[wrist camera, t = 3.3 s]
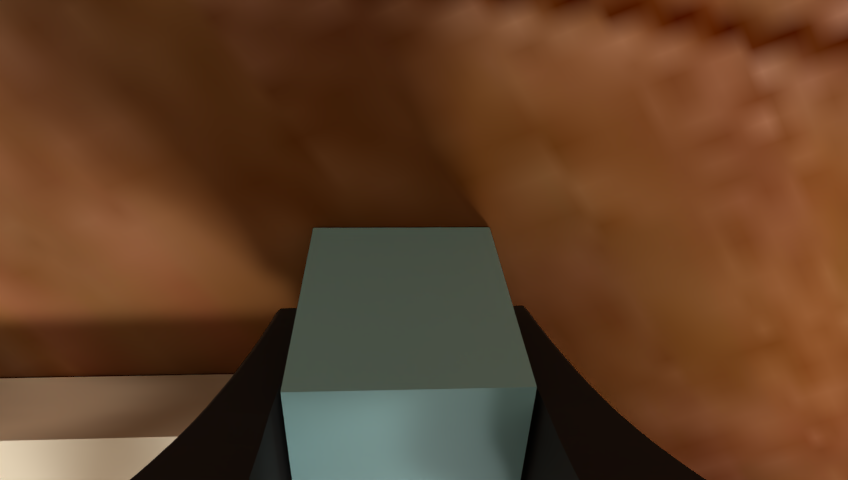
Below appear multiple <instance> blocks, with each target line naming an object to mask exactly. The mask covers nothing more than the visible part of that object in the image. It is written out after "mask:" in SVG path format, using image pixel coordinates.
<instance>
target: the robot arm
mask: <svg viewBox="0 0 848 480" xmlns="http://www.w3.org/2000/svg"><path fill="white" fill-rule="evenodd" d="M513 308H514V312H515V315H516V318H517V322H518V325H519V328H520V332H521V335H522V339H523V342H524V345H525V349H526V352H527V355H528V359H529V362H530V366H531V369H532V372H533V376H534V379H535V382H536V386H537V389H536V395H535V401H534V406H533V412H532V418H531V423H530V429H529V435H528V440H527V446H526V452H525V457H524V463H523V468H522V474H521V480H706V479H704V478H702V477H701V476H699V475H698V474H696V473H695V472H694V471H692V470H691V469H689V468H688V467H686V466H685V465H683V464H682V463H680V462H679V461H678V460H676V459H675V458H674V457H672V456H671V455H670V454H668V453H667V452H666V451H664V450H663V449H662V448H660V447H659V446H657V445H656V444H655V443H654V442H652V441H651V440H650V439H649V438H647V437H646V436H645V435H643V434H642V433H641V432H640V431H639V430H637V429H636V428H635V427H634V426H633V425H632V424H630V423H629V422H628V421H627V420H626V419H625V418H624V417H622V416H621V415H620V414H619V413H618V412H617V411H616V410H615V409H613V408H612V407H611V406H610V405H609V404H608V403H607V402H606V401H605V400H604V399H603V398H602V397H601V396H600V395H599V394H598V393H597V392H596V391H595V390H594V389H593V388H592V387H591V386H590V385H589V384H588V383H587V381H586V380H585V379H584V378H583V377H582V376H581V375H580V374H579V373H578V372H577V371H576V369H575V368H574V367H573V366H572V365H571V364H570V363H569V362H568V360H567V359H566V358H565V357H564V356H563V355H562V354H561V352H560V351H559V350H558V349H557V348H556V346H555V345H554V344H553V343H552V341H551V340H550V339H549V338H548V336H547V335H546V334H545V333H544V331H543V330H542V329H541V328H540V326H539V325H538V324H537V322H536V321H535V320H534V319H533V317H532V316H531V315H530V313H529V312H528V311H527V310H526V309H525V308H524V306H513ZM296 312H297V308H285V309H280V310H279V311H278V312H277V313H276V314H275V316H274V317H273V319H272V321H271V322H270V324H269V325H268V327H267V329H266V330H265V332H264V333H263V335H262V336H261V338H260V339H259V341H258V342H257V343H256V345H255V346H254V348H253V349H252V351H251V352H250V353H249V355H248V356H247V357H246V359H245V360H244V361H243V363H242V364H241V365H240V367H239V368H238V369H237V371H236V372H235V373H234V375H233V376H232V377H231V378H230V380H229V381H228V382H227V383H226V384H225V386H224V387H223V388H222V389H221V390H220V392H219V393H218V394H217V395H216V396H215V397H214V399H213V400H212V401H211V402H210V403H209V404H208V406H207V407H206V408H205V409H204V410H203V411H202V412H201V413H200V414H199V415H198V417H197V418H196V419H195V420H194V421H193V422H192V423H191V424H190V425H189V426H188V427H187V428H186V429H185V430H184V431H183V432H182V433H181V434H180V435H179V436H178V437H177V438H176V439H175V440H174V441H173V442H172V443H171V444H170V445H169V446H167V447H166V448H165V449H164V450H163V451H162V452H161V453H160V454H159V455H158V456H156V457H155V458H154V459H153V460H152V461H151V462H150V463H149V464H148V465H147V466H145V467H144V468H143V469H142V470H141V471H139V472H138V473H137V474H136V475H135V476H134V477H132V478H131V479H130V480H292V476H291V468H290V461H289V453H288V446H287V438H286V431H285V423H284V416H283V408H282V401H281V393H280V392H281V387H282V382H283V377H284V372H285V367H286V362H287V357H288V352H289V347H290V342H291V337H292V332H293V327H294V322H295V317H296Z"/></svg>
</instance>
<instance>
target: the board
mask: <svg viewBox="0 0 848 480" xmlns="http://www.w3.org/2000/svg"><path fill="white" fill-rule="evenodd" d="M233 375H234V374H215V375H160V376H106V377H51V378H0V480H130V479H131V478H132V477H134V476H135V475H136V474H137V473H138V472H139V471H141V470H142V469H143V468H144V467H145V466H147V465H148V464H149V463H150V462H151V461H152V460H153V459H154V458H155V457H156V456H158V455H159V454H160V453H161V452H162V451H163V450H164V449H165V448H166V447H167V446H169V445H170V444H171V443H172V442H173V441H174V440H175V439H176V438H177V437H178V436H179V435H180V434H181V433H182V432H183V431H184V430H185V429H186V428H187V427H188V426H189V425H190V424H191V423H192V422H193V421H194V420H195V419H196V418H197V417H198V415H199V414H200V413H201V412H202V411H203V410H204V409H205V408H206V407H207V406H208V404H209V403H210V402H211V401H212V400H213V399H214V397H215V396H216V395H217V394H218V393H219V392H220V390H221V389H222V388H223V387H224V386H225V384H226V383H227V382H228V381H229V380H230V378H231V377H232V376H233Z"/></svg>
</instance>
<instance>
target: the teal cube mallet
mask: <svg viewBox="0 0 848 480" xmlns="http://www.w3.org/2000/svg"><path fill="white" fill-rule="evenodd" d="M536 389H537V386H536V382H535V379H534V376H533V372H532V369H531V366H530V362H529V359H528V355H527V352H526V349H525V345H524V342H523V339H522V335H521V332H520V328H519V325H518V322H517V318H516V315H515V312H514V308H513V305H512V301H511V298H510V295H509V291H508V288H507V285H506V281H505V278H504V274H503V271H502V268H501V264H500V261H499V258H498V254H497V251H496V247H495V244H494V241H493V237H492V234H491V231H490V227H423V228H313V232H312V237H311V242H310V247H309V252H308V257H307V262H306V267H305V272H304V277H303V282H302V287H301V292H300V297H299V302H298V307H297V312H296V317H295V322H294V327H293V332H292V337H291V342H290V347H289V352H288V357H287V362H286V367H285V372H284V377H283V382H282V387H281V392H280V393H281V401H282V408H283V416H284V423H285V431H286V438H287V446H288V453H289V461H290V468H291V476H292V480H521V474H522V468H523V463H524V457H525V452H526V446H527V440H528V435H529V429H530V423H531V418H532V412H533V406H534V401H535V395H536Z"/></svg>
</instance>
